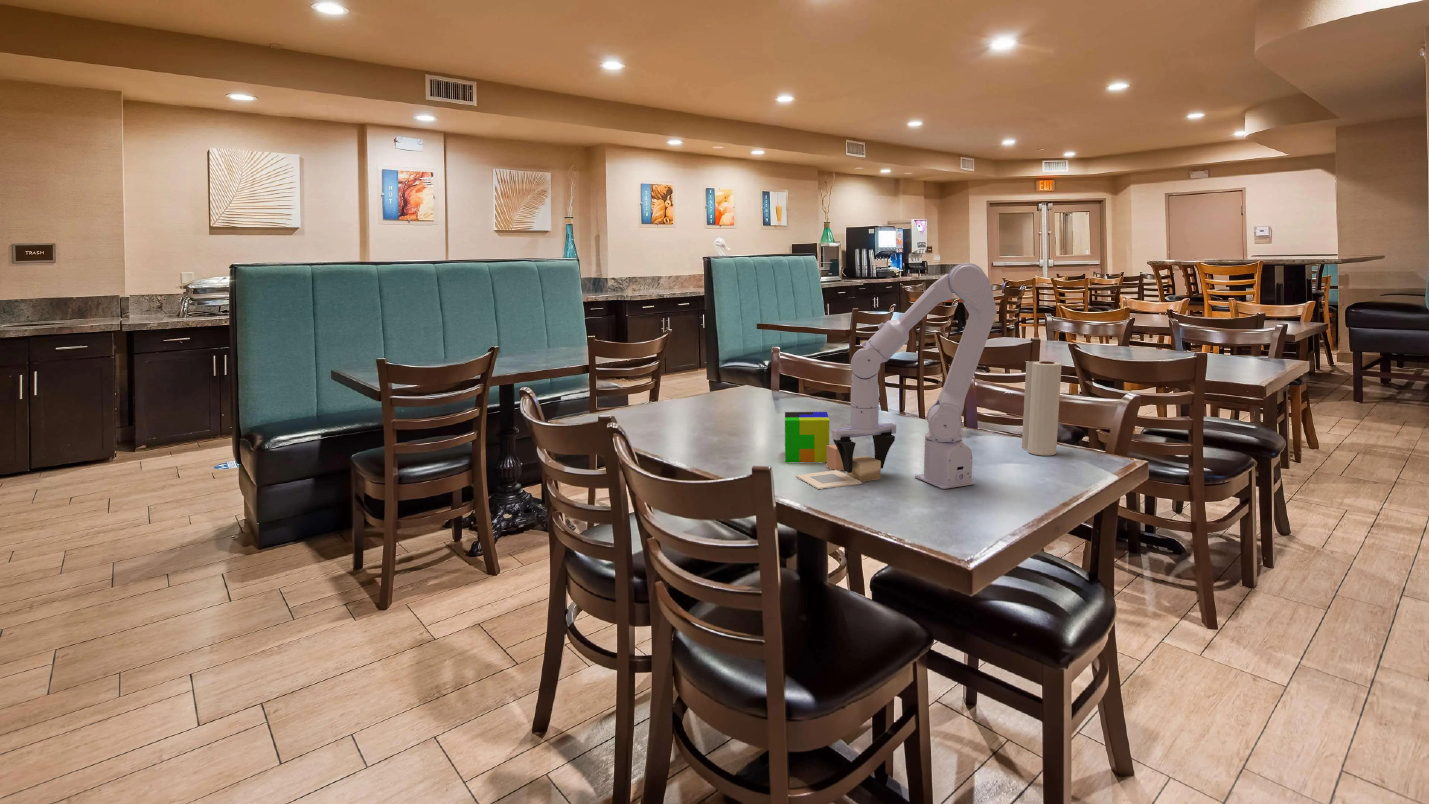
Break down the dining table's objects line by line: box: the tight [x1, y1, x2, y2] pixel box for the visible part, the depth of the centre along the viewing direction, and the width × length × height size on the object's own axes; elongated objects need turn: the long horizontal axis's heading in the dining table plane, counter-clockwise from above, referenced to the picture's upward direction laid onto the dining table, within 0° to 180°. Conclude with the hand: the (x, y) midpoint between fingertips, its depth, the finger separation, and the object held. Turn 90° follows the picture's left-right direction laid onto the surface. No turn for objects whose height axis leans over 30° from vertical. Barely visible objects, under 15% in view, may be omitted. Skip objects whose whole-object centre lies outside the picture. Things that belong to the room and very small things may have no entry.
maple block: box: [846, 455, 882, 482], centre depth 154 cm, size 5×5×4 cm
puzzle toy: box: [784, 411, 830, 463], centre depth 171 cm, size 10×10×10 cm
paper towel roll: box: [1021, 360, 1063, 456], centre depth 169 cm, size 7×6×21 cm
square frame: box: [795, 470, 863, 490], centre depth 153 cm, size 10×10×1 cm
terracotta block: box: [826, 444, 844, 471], centre depth 162 cm, size 4×4×5 cm
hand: (863, 469), depth 154 cm, fingers open, 7 cm apart
